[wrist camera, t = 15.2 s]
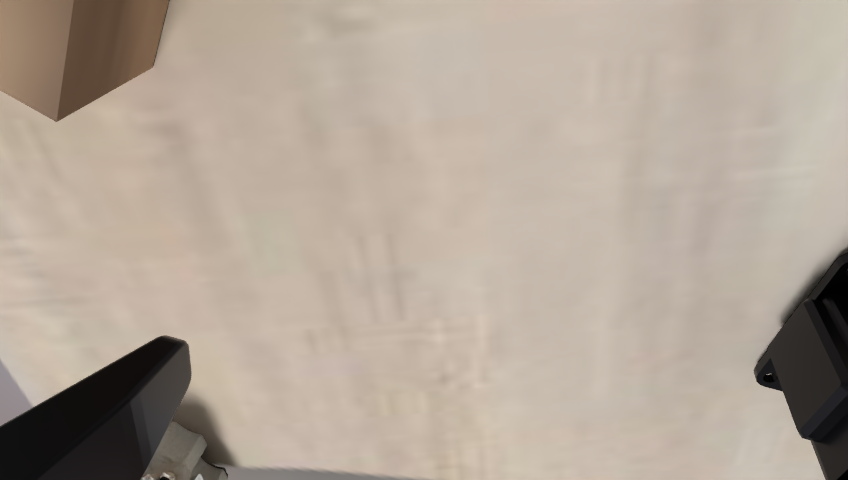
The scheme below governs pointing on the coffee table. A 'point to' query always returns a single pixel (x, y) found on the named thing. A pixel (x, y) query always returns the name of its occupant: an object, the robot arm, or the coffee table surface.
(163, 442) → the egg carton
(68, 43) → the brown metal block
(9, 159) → the coffee table surface
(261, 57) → the coffee table surface
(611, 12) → the coffee table surface
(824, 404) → the robot arm
